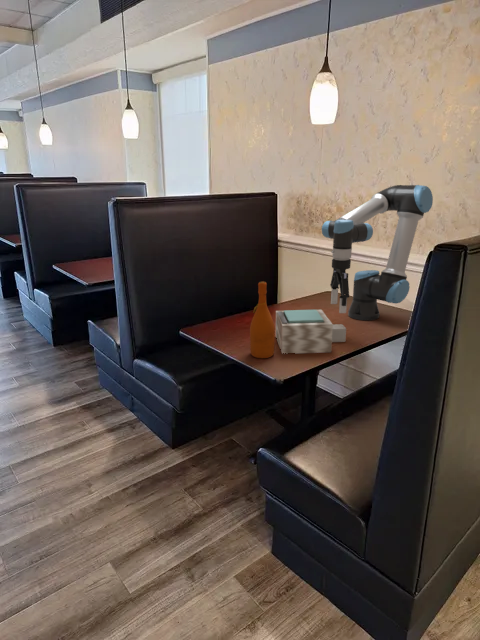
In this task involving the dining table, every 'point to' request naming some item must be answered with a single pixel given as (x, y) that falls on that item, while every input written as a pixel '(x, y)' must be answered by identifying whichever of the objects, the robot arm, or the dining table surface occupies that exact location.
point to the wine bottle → (262, 327)
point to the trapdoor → (303, 316)
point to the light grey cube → (338, 333)
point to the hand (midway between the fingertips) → (338, 308)
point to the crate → (303, 335)
